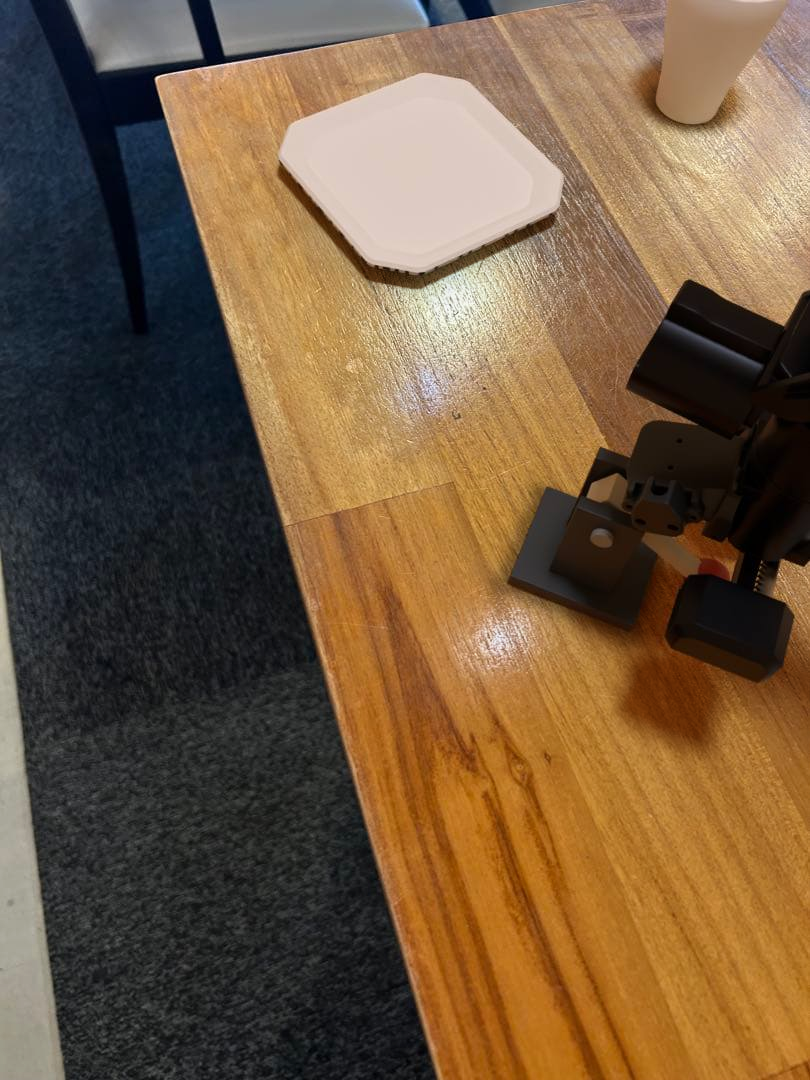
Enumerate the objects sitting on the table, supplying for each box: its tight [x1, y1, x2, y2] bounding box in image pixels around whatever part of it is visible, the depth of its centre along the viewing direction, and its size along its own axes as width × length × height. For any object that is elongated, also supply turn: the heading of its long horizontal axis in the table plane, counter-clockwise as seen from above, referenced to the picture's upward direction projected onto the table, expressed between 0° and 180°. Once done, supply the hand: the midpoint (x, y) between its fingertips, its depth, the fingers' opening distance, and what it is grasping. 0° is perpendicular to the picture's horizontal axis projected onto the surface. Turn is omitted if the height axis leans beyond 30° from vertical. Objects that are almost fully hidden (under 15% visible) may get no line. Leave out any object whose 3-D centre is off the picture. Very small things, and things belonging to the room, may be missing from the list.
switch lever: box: [587, 473, 731, 583], centre depth 62 cm, size 12×3×3 cm
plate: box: [277, 72, 565, 276], centre depth 84 cm, size 21×21×2 cm
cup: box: [655, 0, 790, 125], centre depth 87 cm, size 10×10×14 cm
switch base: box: [507, 446, 659, 633], centre depth 63 cm, size 9×8×10 cm
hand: (708, 585), depth 64 cm, fingers open, 9 cm apart
